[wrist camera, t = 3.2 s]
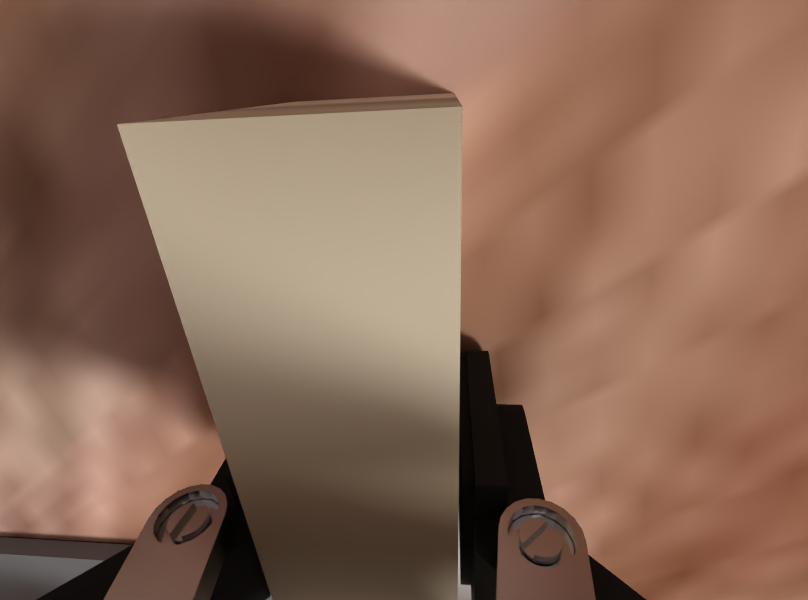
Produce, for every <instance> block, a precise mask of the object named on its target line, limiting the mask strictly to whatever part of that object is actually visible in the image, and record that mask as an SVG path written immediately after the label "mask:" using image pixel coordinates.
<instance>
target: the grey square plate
mask: <svg viewBox="0 0 808 600" xmlns="http://www.w3.org/2000/svg"><path fill="white" fill-rule="evenodd" d="M129 546H131V545H125V544H109V543H92V542H75V541H58V540H42V539H25V538H8V537H0V600H36V599H38V598H40V597H42V596H43V595H45V594H47V593H49V592H50V591H52V590H54V589H56V588H57V587H59V586H61V585H63V584H64V583H66V582H68V581H70V580H71V579H73V578H75V577H77V576H78V575H80V574H82V573H84V572H85V571H87V570H89V569H91V568H92V567H94V566H96V565H98V564H99V563H101V562H103V561H105V560H106V559H108V558H110V557H112V556H113V555H115V554H117V553H119V552H120V551H122V550H124V549H126V548H127V547H129ZM266 600H272V597H271V595H270V597H269V598H267V599H266Z"/></svg>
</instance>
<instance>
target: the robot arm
mask: <svg viewBox="0 0 808 600" xmlns="http://www.w3.org/2000/svg"><path fill="white" fill-rule="evenodd" d="M459 543H460V581H461V585H471V600H646V599H644V598H643V597H642V596H641V595H639V594H638V593H637V592H636V591H634V590H633V589H632V588H630V587H629V586H628V585H627V584H625V583H624V582H623V581H621V580H620V579H619V578H618V577H616V576H615V575H614V574H612V573H611V572H610V571H609V570H607V569H606V568H605V567H603V566H602V565H601V564H600V563H598V562H597V561H596V560H594V559H593V558H592V557H591V556H589V555H588V550H587V543H586V540H585V537H584V534H583V531H582V529H581V527H580V526H579V524H578V523H577V521H576V520H575V518H574V517H573V516H571V515H570V514H569V513H568V512H567V511H566V510H565V509H563V508H561V507H560V506H558V505H556V504H554V503H552V502H549V501H545V498H544V494H543V490H542V485H541V481H540V477H539V472H538V468H537V464H536V459H535V455H534V451H533V446H532V442H531V438H530V434H529V429H528V425H527V421H526V416H525V412H524V409H523V406H522V405H504V404H496V399H495V392H494V386H493V379H492V372H491V366H490V359H489V353H488V351H466V357H460V408H459ZM270 595H271V594H270V591H269V588H268V585H267V581H266V578H265V575H264V572H263V569H262V566H261V563H260V560H259V557H258V554H257V551H256V548H255V545H254V542H253V539H252V536H251V533H250V530H249V527H248V523H247V520H246V517H245V514H244V511H243V508H242V505H241V502H240V499H239V496H238V493H237V490H236V487H235V484H234V481H233V478H232V475H231V472H230V468H229V465H228V462H227V459H225V461H224V462H223V464H222V466H221V467H220V469H219V471H218V473H217V474H216V476H215V478H214V479H213V481H212V483H211V484H210V485H206V484H200V485H195V486H190V487H187V488H185V489H182V490H180V491H178V492H176V493H174V494H173V495H171V496H170V497H168V498H166V499H165V500H164V501H163V502H162V503H161V504H160V505H159V506H158V507H157V508H156V509H155V510H154V511H153V513H152V514H151V516H150V517H149V518H148V520H147V522H146V524H145V525H144V527H143V529H142V531H141V533H140V535H139V536H138V538H137V540H136V542H135V543H134V544H133V545H131V546H129V547H127V548H126V549H124V550H122V551H120V552H119V553H117V554H115V555H113V556H112V557H110V558H108V559H106V560H105V561H103V562H101V563H99V564H98V565H96V566H94V567H92V568H91V569H89V570H87V571H85V572H84V573H82V574H80V575H78V576H77V577H75V578H73V579H71V580H70V581H68V582H66V583H64V584H63V585H61V586H59V587H57V588H56V589H54V590H52V591H50V592H49V593H47V594H45V595H43V596H42V597H40V598H38V599H36V600H266V599H267V598H269V597H270Z"/></svg>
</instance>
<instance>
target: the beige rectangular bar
mask: <svg viewBox="0 0 808 600" xmlns="http://www.w3.org/2000/svg"><path fill="white" fill-rule="evenodd" d="M117 126H118V129H119V132H120V136H121V139H122V142H123V145H124V148H125V151H126V154H127V157H128V160H129V163H130V166H131V169H132V172H133V175H134V178H135V181H136V184H137V187H138V191H139V194H140V197H141V200H142V203H143V206H144V209H145V212H146V215H147V218H148V221H149V224H150V227H151V230H152V233H153V236H154V239H155V242H156V246H157V249H158V252H159V255H160V258H161V261H162V264H163V267H164V270H165V273H166V276H167V279H168V282H169V285H170V288H171V291H172V294H173V297H174V300H175V304H176V307H177V310H178V313H179V316H180V319H181V322H182V325H183V328H184V331H185V334H186V337H187V340H188V343H189V346H190V349H191V352H192V355H193V359H194V362H195V365H196V368H197V371H198V374H199V377H200V380H201V383H202V386H203V389H204V392H205V395H206V398H207V401H208V404H209V407H210V410H211V413H212V417H213V420H214V423H215V426H216V429H217V432H218V435H219V438H220V441H221V444H222V447H223V450H224V453H225V456H226V459H227V462H228V465H229V468H230V472H231V475H232V478H233V481H234V484H235V487H236V490H237V493H238V496H239V499H240V502H241V505H242V508H243V511H244V514H245V517H246V520H247V523H248V527H249V530H250V533H251V536H252V539H253V542H254V545H255V548H256V551H257V554H258V557H259V560H260V563H261V566H262V569H263V572H264V575H265V578H266V581H267V585H268V588H269V591H270V594H271V597H272V600H471V585H461V581H460V543H459V408H460V301H461V194H462V105H461V104H460V102H459V100H458V99H457V97H456V95H455V94H454V93H444V94H426V95H408V96H389V97H371V98H353V99H334V100H316V101H298V102H289V103H281V104H273V105H265V106H257V107H249V108H241V109H233V110H225V111H217V112H209V113H201V114H193V115H185V116H178V117H170V118H162V119H154V120H146V121H138V122H130V123H122V124H117Z"/></svg>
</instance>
